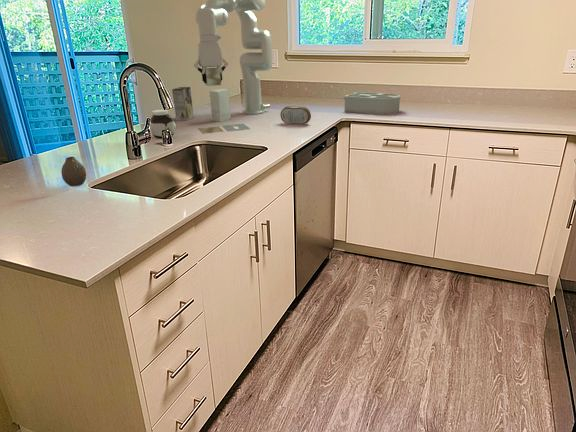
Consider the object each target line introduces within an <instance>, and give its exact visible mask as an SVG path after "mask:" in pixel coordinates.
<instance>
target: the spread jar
mask: <svg viewBox="0 0 576 432" xmlns="http://www.w3.org/2000/svg"><path fill="white" fill-rule="evenodd" d="M151 114H152V116H151V117H150V119H151V124H150V123H149V126H150V127H149V128H150V133H151V134H152V136H153V137H154V138H155V139H159V140H160V139H161V140H163V139H162V130H165V129H167V130H170V131H171V135H172V137H173V135H174V134H175V130H176V128H177V127H176V126H177V125H176V123H175V121H174V119H173V118H172V116H171V115H170V114H169V110H168V109H165V110H164V109H155V110H152V111H151Z"/></svg>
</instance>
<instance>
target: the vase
mask: <svg viewBox="0 0 576 432" xmlns="http://www.w3.org/2000/svg"><path fill="white" fill-rule="evenodd" d="M61 177H62V178H61V179H62V180H63V182H64V183H65V184H66V185H68V186H69V187H78V186H82V185H83V184H84V183H85V181H86V180H87V171H86V168H85V167H84V165H83V164H82V163H81V162H80V161H78V160H77V159H76V157H74V156H69V157H66V158H65V161H64V162H63V165H62V166H61Z"/></svg>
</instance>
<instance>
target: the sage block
mask: <svg viewBox="0 0 576 432" xmlns="http://www.w3.org/2000/svg"><path fill="white" fill-rule="evenodd" d="M205 74H206V80H207V83H204V85H205V86H207V87H211V86H212V87H213V86H222V80H221V78H220V69H219V68H217V67H206V69H205Z"/></svg>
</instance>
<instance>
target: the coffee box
mask: <svg viewBox="0 0 576 432" xmlns="http://www.w3.org/2000/svg"><path fill="white" fill-rule="evenodd" d="M172 97H173V106H174V107H173V108H174V112H175V120H176V121H177V120H185V121H184V122H186V121H190V120H191V119H193V118H194V116H195V115H194V109H193V100H192V93H191V86H179V87H176V88H172Z"/></svg>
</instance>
